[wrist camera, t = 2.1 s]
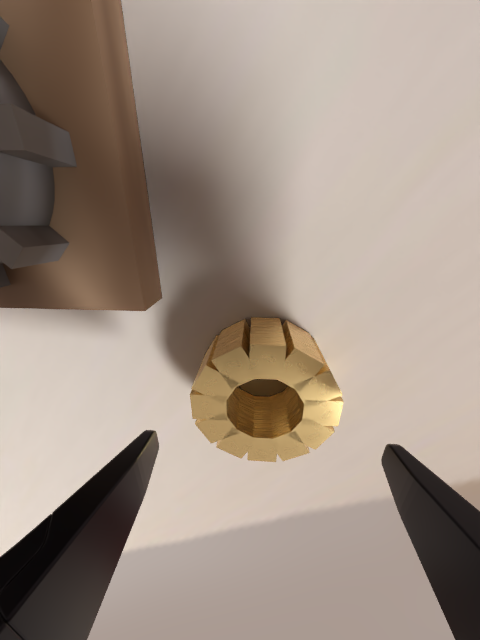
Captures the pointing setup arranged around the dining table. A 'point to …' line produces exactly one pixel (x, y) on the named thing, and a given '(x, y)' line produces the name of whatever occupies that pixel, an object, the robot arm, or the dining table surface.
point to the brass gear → (258, 411)
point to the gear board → (71, 162)
